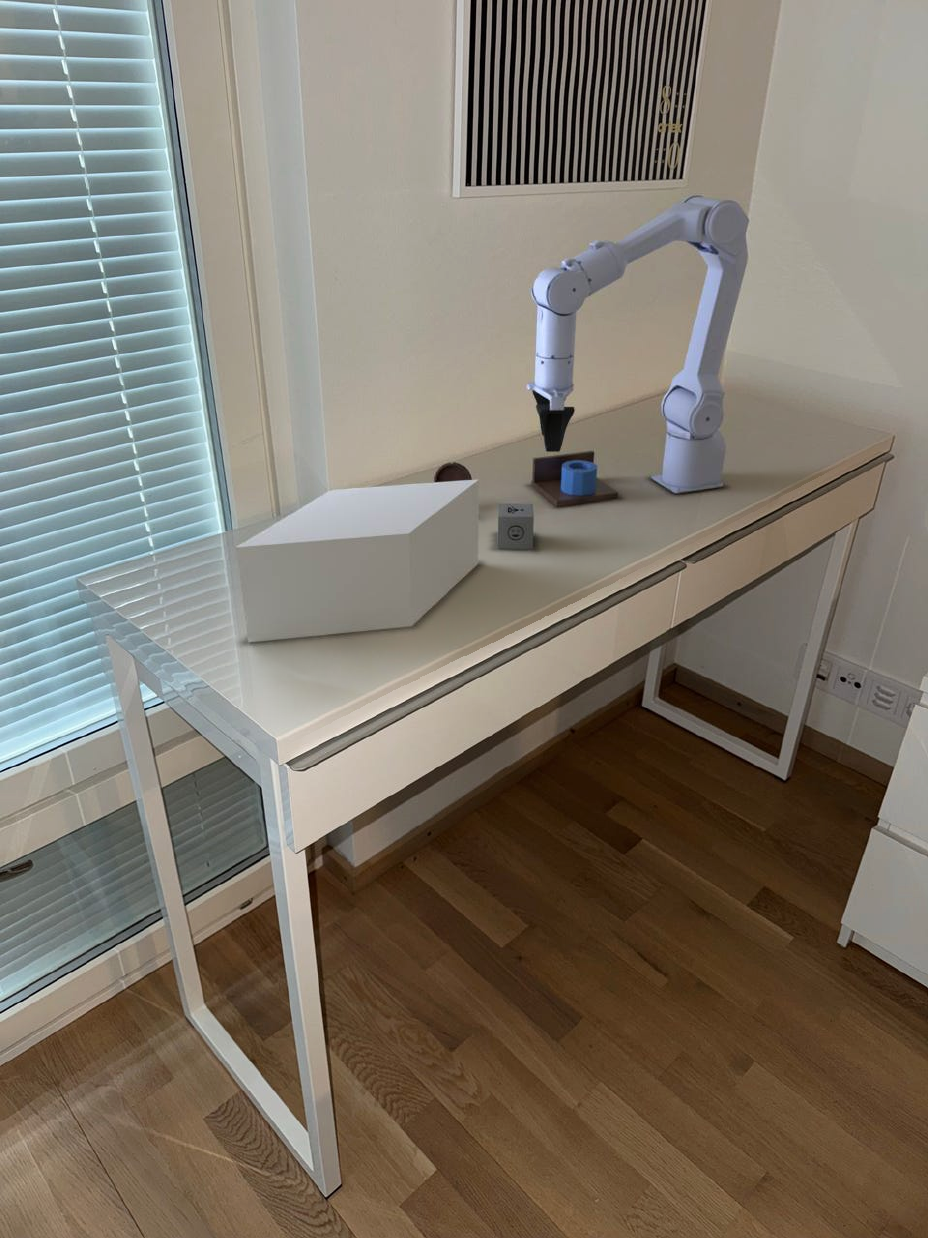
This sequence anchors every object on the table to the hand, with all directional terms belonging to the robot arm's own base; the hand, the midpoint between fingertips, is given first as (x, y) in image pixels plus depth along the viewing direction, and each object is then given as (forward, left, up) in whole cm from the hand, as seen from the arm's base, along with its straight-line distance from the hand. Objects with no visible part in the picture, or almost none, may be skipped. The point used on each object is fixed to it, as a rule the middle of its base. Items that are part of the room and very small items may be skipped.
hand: (550, 442), depth 142 cm
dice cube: (+11, +12, -10) cm, 20 cm away
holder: (-6, -3, -10) cm, 12 cm away
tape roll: (-6, -1, -9) cm, 11 cm away
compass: (+16, -1, -10) cm, 19 cm away
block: (+36, +23, -10) cm, 43 cm away
